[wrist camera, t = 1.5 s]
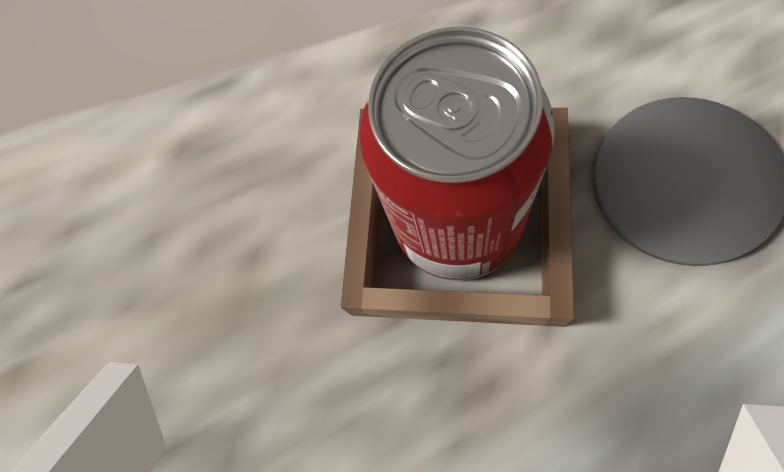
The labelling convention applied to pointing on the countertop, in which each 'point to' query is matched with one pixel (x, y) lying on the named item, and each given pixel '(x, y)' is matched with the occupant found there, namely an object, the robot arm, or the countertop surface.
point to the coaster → (690, 181)
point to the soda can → (457, 148)
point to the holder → (467, 305)
